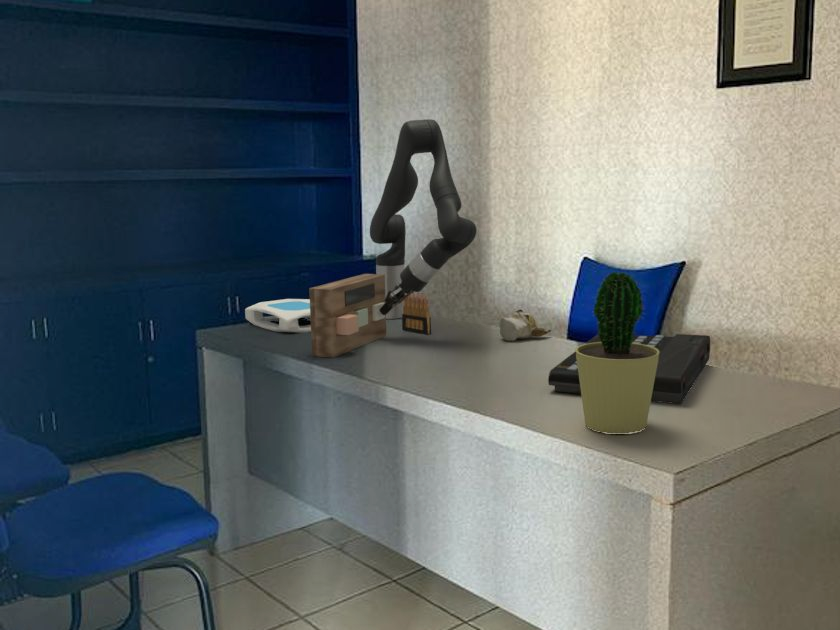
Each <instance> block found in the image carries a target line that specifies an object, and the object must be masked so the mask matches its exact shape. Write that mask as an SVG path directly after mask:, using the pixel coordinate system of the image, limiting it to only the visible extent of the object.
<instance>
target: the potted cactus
mask: <svg viewBox="0 0 840 630" xmlns="http://www.w3.org/2000/svg"><path fill="white" fill-rule="evenodd" d="M631 273H632V272H631V271H630V272H629V273H626V272H623V271H622V272H617V271H612V272H611V273H609V272H606V273H605V274H606V275H605V276H606V277H603V279H600V281H598V283H599V284H601V287H600V288H598V287H596V290H597V292H596V293H597V294H596V293H595V294H594V295H595V296H593V299H595V301H593V300H591V301H593V302H592V303H594V305H592V306H591V307H592V308H593V313H592V314H591V315H592V316H591V318H592V317H595V318H596V320H597V321H596V324H597V328H595V331H597V330H598V331H597V332H596V335H597V334H599V335H598V336H599V337H600V339H601V340H600V341H601V342H598V341H597V342H596V343H588V344H586V343H584V344H581V345H580V344H579V345H578V346H577V347H575V348H574V352H576V359H577V366H578V373H579V381H580V388H581V394H580V395H581V396H580V397H581V402H582V409H583V416H584V424H585V426H586V425H587V427H589V428H591V429H593V430H596V431H600V432H607V433H629V432H635V431H640V430H642V429H644V428H645V427H646V428H647V425H648V418H649V415H650V407H651V402H652V401H651V397H652V391H653V386H654V380H655V375H656V369H657V364H658V358H659V350H658V349H656V348H654V347H651V346H648V345H643V344H637V343H632V342H633V341H632V337H633V335H638V332H637V331H636V329H635V328H636V327H637V325H638V324H639V322H640V319H641V320H644V317H643V316H642V315H643V314H644V315H646V316H647V314H646V313H645V312H643V310H646V306H645V305H646V303H643V302H644V301H645V300H646V298H645V299H644V298H643V295H642V293H643V291H640V290H641V289H643V286H642V287H640V286H638V285H639V283H640V280H638V281H637V280H634V278H632V276H633V274H631ZM602 280H603V281H602ZM639 325H640V324H639ZM598 336H597V337H598ZM587 427H586V428H587Z"/></svg>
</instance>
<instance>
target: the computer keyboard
mask: <svg viewBox="0 0 840 630" xmlns="http://www.w3.org/2000/svg"><path fill="white" fill-rule="evenodd" d="M598 335H599V333H598V334H597V333H596V335H594V336H593V337H592V338H591V339H590V340H588V341H587V342H585V344H588V343H596V342H597V341H598V342H601V341H600V340H601V339H600V337H599V336H598ZM597 336H598V337H597ZM632 341H633V342H632V343H637V344H643V345H648V346H651V347H654V348H656V349H658V350H659V358H658V364H657V369H656V375H655V380H654V386H653V391H652V397H651V402H658V401H661V402H660V403H668V402H672V403H671V404H678V403H683V402H684V400H685V399H686V397H687V396H688V394H689V392H690V391H689V390H691V389H692V388H693V386H694V384H695V383H696V381H697V380H698V378H697V377H699V376H700V375H699V374H701V373H702V371H703V370H702V369H704V368H705V367H706V365H707V363H708V362H709V359H710V353H711V335H703V334H702V335H701V334H683V333H676V334H675V335H674V336H666V335H661V334H656V335H643V334H641V335H640V334H633V337H632ZM700 372H701V373H700ZM695 380H696V381H695ZM547 381H548V382H547V383H548V386H554V391H555V392H558V393H568V394H576V395H577V394H579V395H581V388H580V381H579V373H578V366H577V359H576V352H575V351H574V352H573V353H571V354H570V355H569V356H567V357H566V358H565V359H563V360H562V361H561V362H560V363H558V364H556V366H554V367H553V368H552V369H550V370H549V373H548V379H547ZM694 382H695V383H694ZM693 383H694V384H693ZM692 385H693V386H692ZM691 387H692V388H691ZM690 388H691V389H690ZM688 391H689V392H688ZM687 393H688V394H687ZM686 395H687V396H686ZM685 396H686V397H685ZM684 398H685V399H684ZM683 399H684V400H683ZM682 401H683V402H682Z"/></svg>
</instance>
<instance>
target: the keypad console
mask: <svg viewBox="0 0 840 630" xmlns="http://www.w3.org/2000/svg"><path fill="white" fill-rule="evenodd" d="M308 290H309V292H308V293H309V299H310V318H311V321H310V325H311V331H310V334H311V337H310V338H311V356H312V357H322V358H323V357H324V358H336V357H338V356H342V355H343V354H346V353H348V352H350V351H353V350H355V349H358V348H360V347H362V346H365V345H367V344H370V343H372V342H374V341H377V340H379V339H382V338H384V337H386V336H387V319H386V315H385V318H383V319H380V320H378V321H373V312H372V305H373V304H376V303H379V302H382V303H385V275H382V274H375V273H362V274H360V275H359V274H358V275H355V276H351V277H348V278H344V279H343V278H342V279H340V280H336V281H332V282H328V283H325V284H321V285H317V286H314V287H309V288H308ZM361 308H368V324H367V325H364V326H361V327H359V331H358V332H355V333H353V334H350V335H340V334H336V317H337V316H340V315H343V314H350V315H355V310H358V309H361Z"/></svg>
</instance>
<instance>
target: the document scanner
mask: <svg viewBox="0 0 840 630" xmlns="http://www.w3.org/2000/svg"><path fill="white" fill-rule="evenodd" d="M244 314H245V315H244V316H245V320H246V321H248V322H250V323H251V324H252V325H254V326H255V327H260V328H262V329H266V330H269V331H272V332H278V333H294V334H296V333H297V334H302V333H309V332H310V333H311V324H306V325H299V320H300V318H306V319H307V320H306V321H310V322H311V318H310V298H308V299H307V298H305V299H304V298H284V299H276V300H269V301H261V302H260V301H259V302H258V303H255V304H252V305H251V306H250V305H249V306H248V307H246V308H245V309H244ZM264 314H268V315H269V316H264ZM270 315H271V316H270ZM270 321H275V322H279V323H275V322H270Z"/></svg>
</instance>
